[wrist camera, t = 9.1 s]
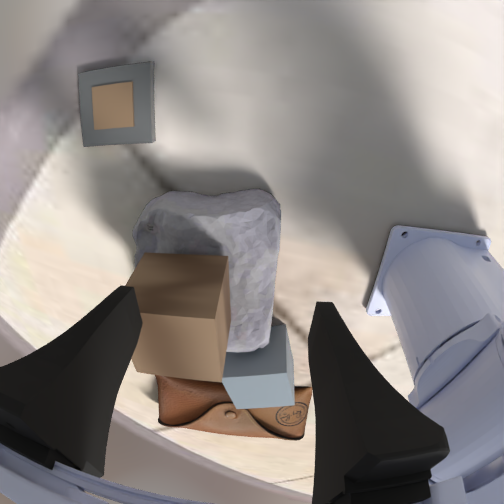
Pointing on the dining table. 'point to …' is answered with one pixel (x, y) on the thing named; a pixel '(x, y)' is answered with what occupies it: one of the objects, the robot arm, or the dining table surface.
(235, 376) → the blue-grey cube
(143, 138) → the tile
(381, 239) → the dining table surface
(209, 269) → the walnut cube
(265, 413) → the sunglasses case
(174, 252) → the stone block
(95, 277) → the dining table surface
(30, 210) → the dining table surface
